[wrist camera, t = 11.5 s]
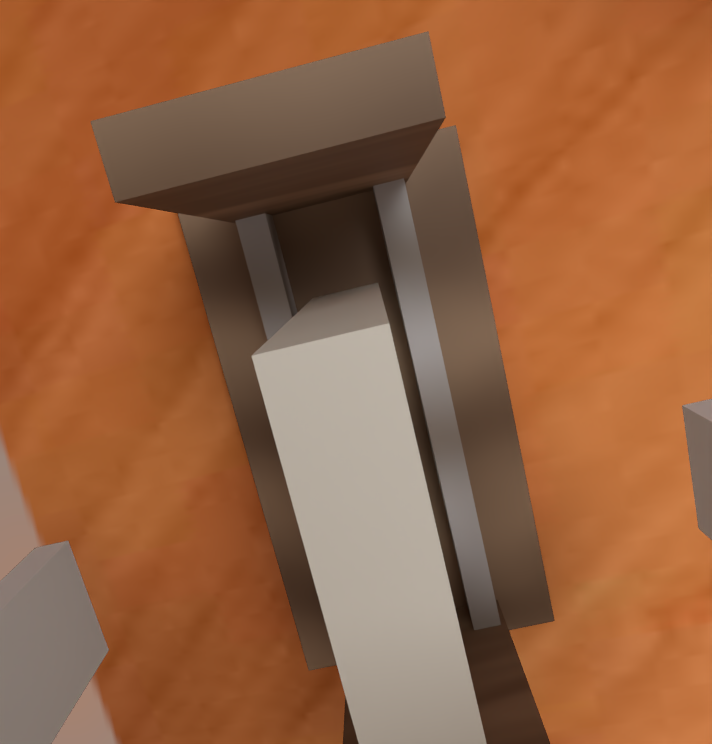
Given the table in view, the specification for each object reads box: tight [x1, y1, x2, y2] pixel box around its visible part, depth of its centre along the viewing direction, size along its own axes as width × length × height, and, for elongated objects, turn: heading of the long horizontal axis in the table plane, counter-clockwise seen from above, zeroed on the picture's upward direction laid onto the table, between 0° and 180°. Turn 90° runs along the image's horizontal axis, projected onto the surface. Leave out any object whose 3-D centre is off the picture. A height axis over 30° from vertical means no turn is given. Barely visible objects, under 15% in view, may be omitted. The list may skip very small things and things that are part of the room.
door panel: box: [252, 283, 487, 744], centre depth 17 cm, size 10×2×12 cm, turn 14°
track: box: [91, 32, 554, 744], centre depth 18 cm, size 19×10×12 cm, turn 14°
